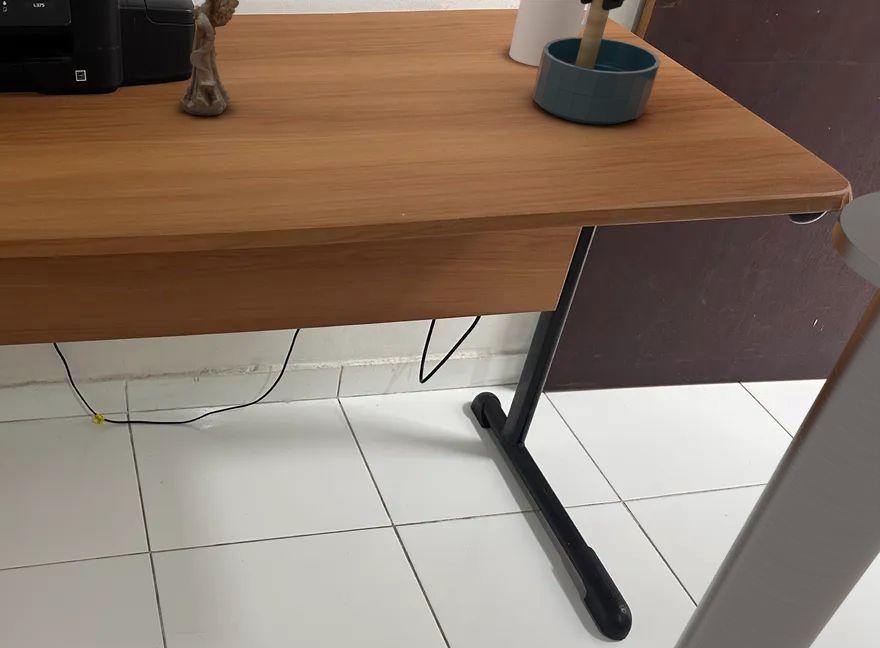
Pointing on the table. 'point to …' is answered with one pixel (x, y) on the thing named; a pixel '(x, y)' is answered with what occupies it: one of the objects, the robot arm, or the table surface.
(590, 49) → the stick
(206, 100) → the figurine
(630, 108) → the bowl
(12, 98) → the table surface
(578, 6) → the cup
